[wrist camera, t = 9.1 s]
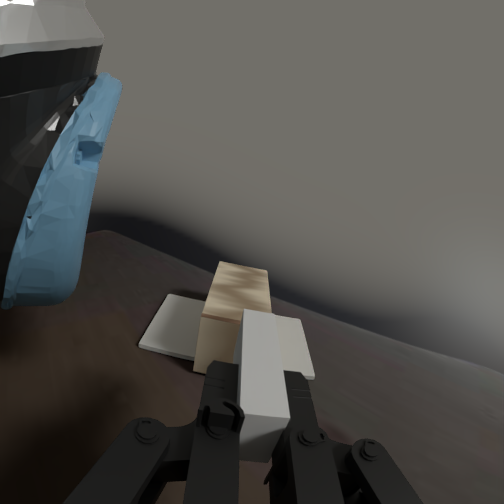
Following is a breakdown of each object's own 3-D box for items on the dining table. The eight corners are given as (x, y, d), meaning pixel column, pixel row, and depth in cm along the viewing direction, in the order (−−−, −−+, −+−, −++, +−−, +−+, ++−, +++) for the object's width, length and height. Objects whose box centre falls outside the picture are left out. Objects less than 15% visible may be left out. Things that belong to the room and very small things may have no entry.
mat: (138, 347, 27) (138, 343, 27) (168, 296, 38) (168, 293, 38) (313, 379, 28) (315, 376, 28) (299, 322, 39) (300, 319, 39)
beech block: (200, 316, 23) (219, 261, 37) (192, 370, 25) (212, 303, 39) (273, 330, 24) (267, 270, 37) (257, 382, 25) (257, 312, 39)
